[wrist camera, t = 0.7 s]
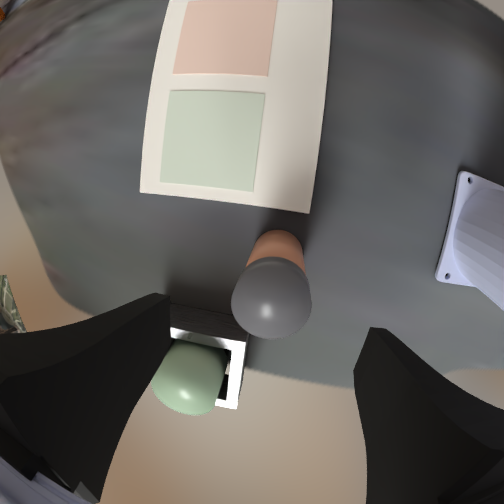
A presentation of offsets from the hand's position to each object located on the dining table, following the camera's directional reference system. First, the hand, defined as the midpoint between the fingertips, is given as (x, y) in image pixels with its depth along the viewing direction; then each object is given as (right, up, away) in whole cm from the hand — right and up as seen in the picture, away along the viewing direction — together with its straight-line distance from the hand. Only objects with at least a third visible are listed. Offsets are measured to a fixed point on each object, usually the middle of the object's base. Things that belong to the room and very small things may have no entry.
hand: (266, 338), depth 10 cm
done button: (-4, -5, +10) cm, 12 cm away
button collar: (-4, -4, +12) cm, 13 cm away
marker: (+1, +3, +9) cm, 9 cm away
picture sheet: (-1, +14, +6) cm, 15 cm away
